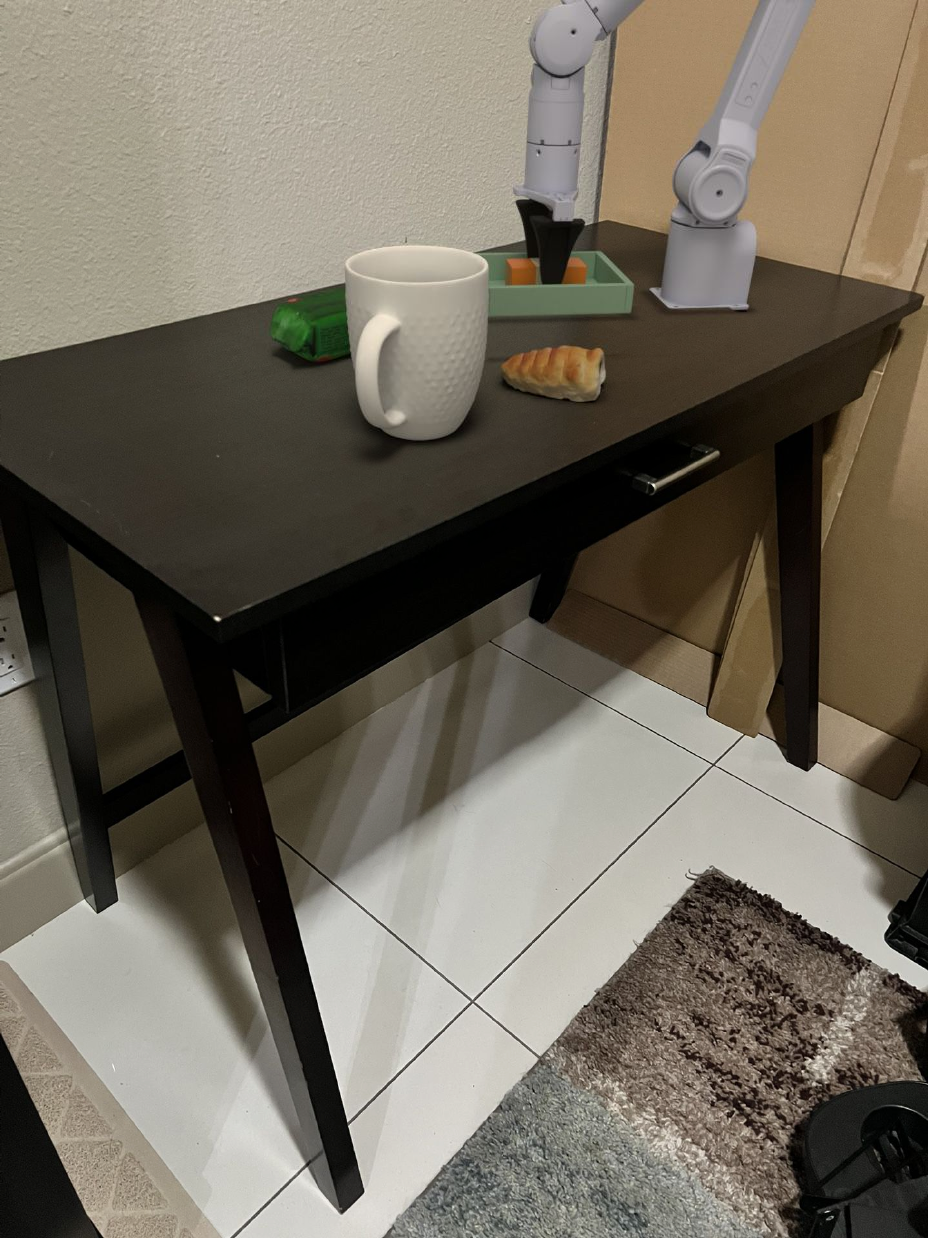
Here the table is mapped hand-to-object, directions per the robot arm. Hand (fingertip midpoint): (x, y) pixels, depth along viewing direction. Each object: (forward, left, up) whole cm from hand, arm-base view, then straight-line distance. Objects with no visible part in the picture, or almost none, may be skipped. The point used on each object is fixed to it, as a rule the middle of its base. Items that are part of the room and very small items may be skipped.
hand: (544, 275), depth 105 cm
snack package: (+23, +14, -3) cm, 27 cm away
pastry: (+4, +27, -3) cm, 27 cm away
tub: (0, 0, -3) cm, 3 cm away
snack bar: (0, 0, -2) cm, 2 cm away
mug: (+18, +35, -3) cm, 39 cm away
